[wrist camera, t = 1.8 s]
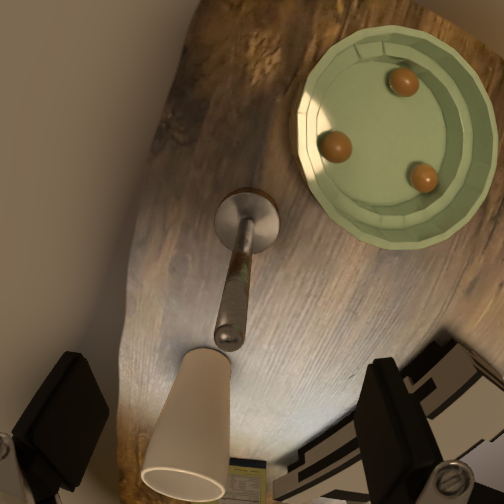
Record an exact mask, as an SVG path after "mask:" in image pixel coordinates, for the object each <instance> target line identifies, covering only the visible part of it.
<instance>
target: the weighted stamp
mask: <svg viewBox="0 0 504 504" xmlns="http://www.w3.org/2000/svg"><path fill="white" fill-rule="evenodd" d="M214 227H215V232H216V234H217V237H218V238H219V240H220V241H221V243H222V244H223V245H224V246H225V247H227V248H228V249H229V250H231V251H232V255H231V260H230V264H229V268H228V273H227V277H226V282H225V286H224V290H223V295H222V299H221V304H220V308H219V313H218V317H217V322H216V326H215V331H214V341H215V344H216V345H217V346H218V348H220V349H221V350H223V351H226V352H233V351H236V350H238V349H239V348H241V347H242V345H243V343H244V341H245V333H246V322H247V310H248V298H249V287H250V275H251V263H252V254H256V253H259V252H262V251H264V250H265V249H267V248H268V247H270V246H271V245H272V244H273V242H274V241H275V240H276V238H277V236H278V233H279V229H280V219H279V212H278V208H277V205H276V204H275V202H274V200H273V199H272V198H271V197H270V196H269V195H268V194H267V193H265V192H264V191H262V190H260V189H257V188H252V187H243V188H238V189H236V190H234V191H232V192H230V193H229V194H227V195H226V196H225V197H224V199H223V200H222V202H221V203H220V205H219V207H218V209H217V211H216V214H215V219H214Z"/></svg>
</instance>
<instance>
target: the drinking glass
mask: <svg viewBox="0 0 504 504" xmlns="http://www.w3.org/2000/svg"><path fill="white" fill-rule="evenodd" d="M231 372H232V370H231V365H230V362H229V361H228V359H227V358H226V357H225V356H224V355H223V354H221V353H219V352H218V351H215V350H212V349H207V348H199V349H195V350H192V351H190V352H188V353H187V354H186V355H185V356H184V358H183V360H182V363H181V366H180V369H179V372H178V374H177V376H176V379H175V381H174V383H173V386H172V388H171V390H170V393H169V395H168V397H167V400H166V402H165V404H164V406H163V409H162V411H161V413H160V416H159V418H158V420H157V422H156V425H155V427H154V430H153V432H152V435H151V438H150V440H149V443H148V447H147V450H146V454H145V457H144V461H143V466H142V471H141V478H142V480H143V481H144V483H145V484H146V485H148V486H149V487H150V488H152V489H153V490H155V491H157V492H159V493H161V494H164V495H166V496H169V497H172V498H176V499H180V500H185V501H193V502H207V501H213V500H217V499H219V498H221V497H222V496H223V495H224V494H225V490H226V484H227V478H228V471H229V461H230V381H231Z"/></svg>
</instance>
